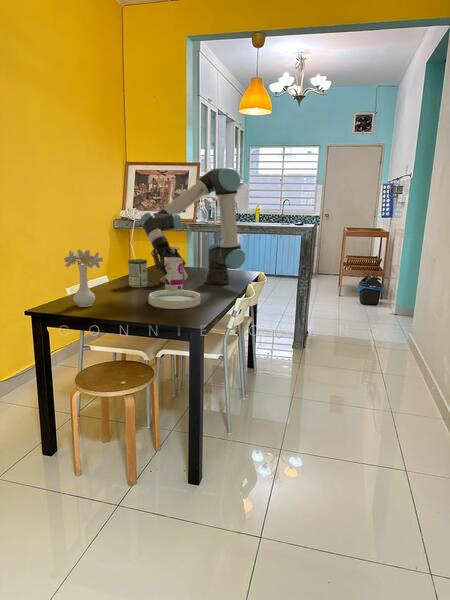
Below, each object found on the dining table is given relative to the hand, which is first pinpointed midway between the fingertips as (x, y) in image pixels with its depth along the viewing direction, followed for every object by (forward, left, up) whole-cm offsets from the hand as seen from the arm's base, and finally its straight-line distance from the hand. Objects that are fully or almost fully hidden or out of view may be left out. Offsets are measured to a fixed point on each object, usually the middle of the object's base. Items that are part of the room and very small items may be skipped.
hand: (178, 279), depth 190 cm
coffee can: (+25, -40, -12) cm, 48 cm away
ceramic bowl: (+2, -3, -12) cm, 12 cm away
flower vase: (+42, +5, -12) cm, 44 cm away
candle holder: (+8, -53, -12) cm, 55 cm away
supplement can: (+2, -3, -6) cm, 7 cm away
